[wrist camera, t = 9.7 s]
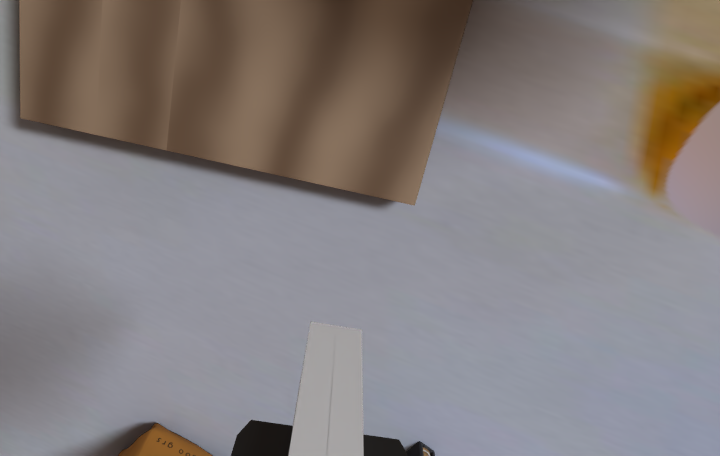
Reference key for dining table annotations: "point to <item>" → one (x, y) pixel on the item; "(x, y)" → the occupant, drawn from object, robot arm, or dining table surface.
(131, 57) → the hole plate
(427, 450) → the ammunition clip
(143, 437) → the coffee package
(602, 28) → the dining table surface
